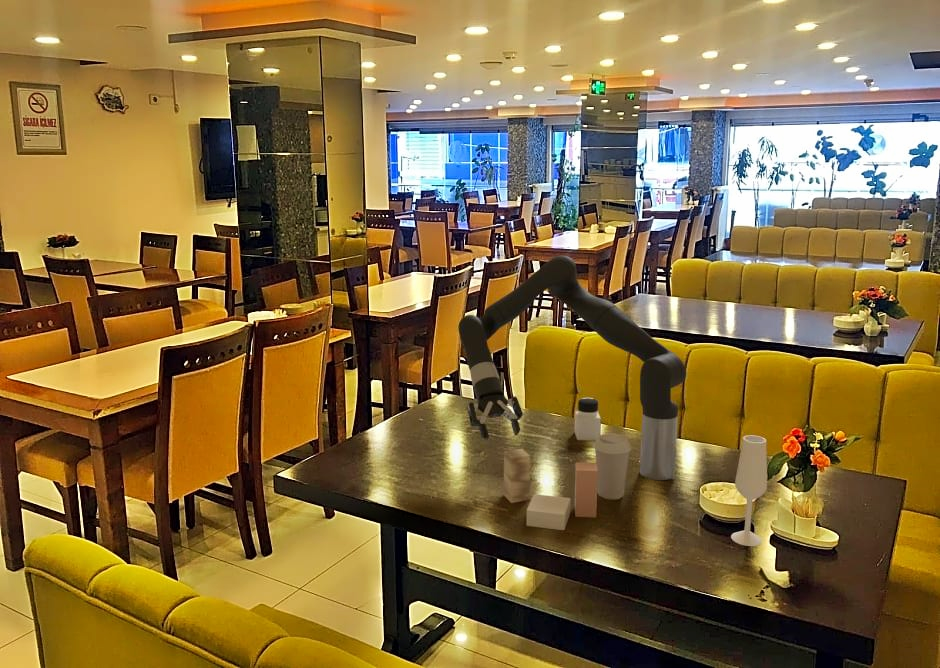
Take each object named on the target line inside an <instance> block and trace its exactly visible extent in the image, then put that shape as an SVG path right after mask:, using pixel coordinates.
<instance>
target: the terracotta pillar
mask: <svg viewBox="0 0 940 668" xmlns="http://www.w3.org/2000/svg"><path fill="white" fill-rule="evenodd" d="M574 475H575V479H574V480H575V481H574V514H575V515H574V516H575V517H576V518H597V506H598V504H597V503H598V501H597V500H598V486H597V478H598V470H597V463H596V462H584V461H583V462H579V461H577V462H575V474H574Z"/></svg>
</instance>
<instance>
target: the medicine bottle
mask: <svg viewBox="0 0 940 668" xmlns="http://www.w3.org/2000/svg"><path fill="white" fill-rule="evenodd" d="M577 407H578V408H577V410H575V411H574V430H573V431H574V435H575V438H576V440H577V441H596V439H597V437H598V436H600V435H602V434H601V427H602V425H601V424H602V418H601V415H600V414H599V401H598V400H597V399H596V398H593V397H583V398H580V399H579V400H578V402H577Z"/></svg>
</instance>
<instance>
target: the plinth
mask: <svg viewBox="0 0 940 668" xmlns="http://www.w3.org/2000/svg"><path fill="white" fill-rule="evenodd" d="M530 499H531V500H530V502H529V504H528V506H527V508H526V526H527V527H534V528H542V529H550V530H556V531H557V530H558V531H565V529H566V527H567V523H568V521H569V518H570V515H571V498H570V497H562V496H553V495H544V494H536V493H535V494H533V495H532V497H531V498H530Z"/></svg>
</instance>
